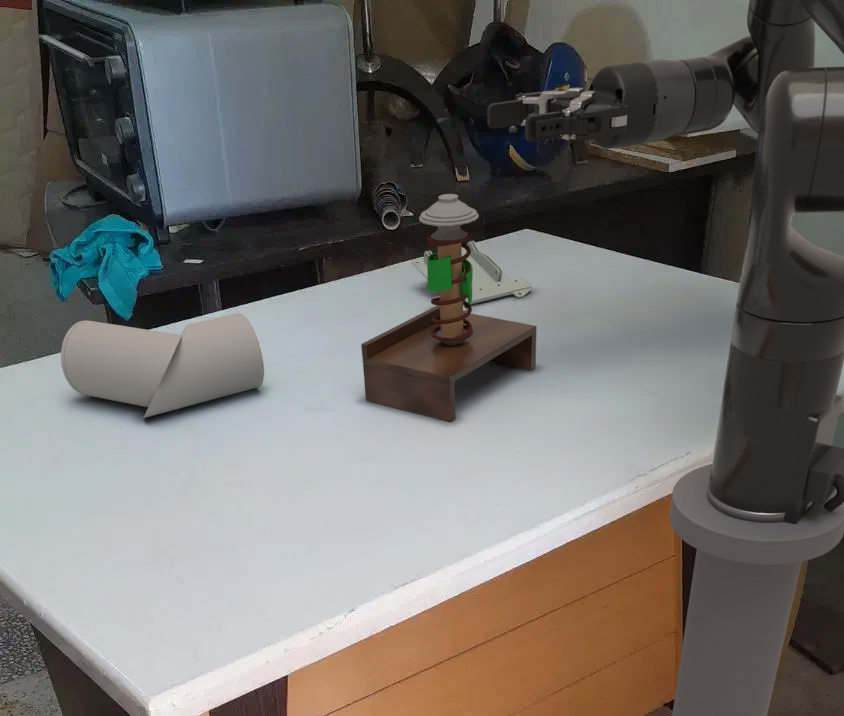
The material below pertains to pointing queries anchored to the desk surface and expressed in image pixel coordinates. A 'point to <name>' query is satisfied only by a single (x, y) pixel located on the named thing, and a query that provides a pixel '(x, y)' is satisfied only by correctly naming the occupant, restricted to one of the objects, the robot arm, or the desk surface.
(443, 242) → the shock absorber
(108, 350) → the elbow connector
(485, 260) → the metal bracket
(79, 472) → the desk surface
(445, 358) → the shelf
